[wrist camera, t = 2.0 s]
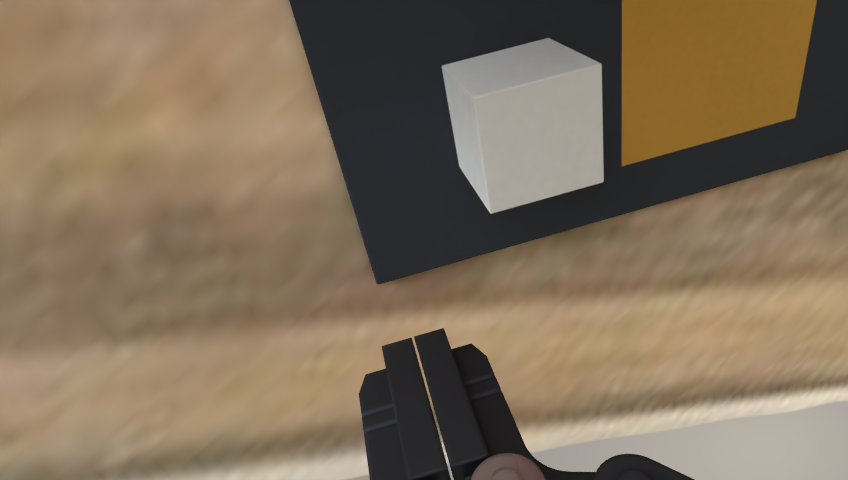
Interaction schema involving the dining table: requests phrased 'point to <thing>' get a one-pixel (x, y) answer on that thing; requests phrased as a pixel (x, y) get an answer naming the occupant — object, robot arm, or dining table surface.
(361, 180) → the mat
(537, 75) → the matte off-white cube
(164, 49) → the dining table surface
